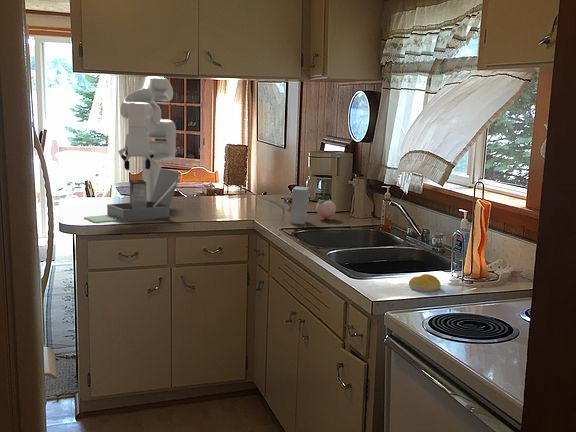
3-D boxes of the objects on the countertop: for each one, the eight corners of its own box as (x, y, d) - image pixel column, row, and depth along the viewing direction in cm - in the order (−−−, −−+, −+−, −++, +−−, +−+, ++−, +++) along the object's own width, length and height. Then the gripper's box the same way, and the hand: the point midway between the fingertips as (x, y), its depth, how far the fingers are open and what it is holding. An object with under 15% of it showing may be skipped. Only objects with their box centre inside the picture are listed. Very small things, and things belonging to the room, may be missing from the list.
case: (107, 215, 288) (106, 170, 285) (162, 210, 305) (162, 168, 301) (124, 222, 273) (123, 175, 270) (181, 216, 290) (181, 172, 286)
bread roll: (403, 287, 186) (404, 274, 186) (423, 283, 192) (424, 270, 191) (425, 294, 180) (425, 281, 179) (445, 290, 185) (446, 276, 185)
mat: (84, 218, 280) (84, 216, 279) (106, 216, 286) (106, 215, 285) (95, 223, 269) (95, 221, 269) (117, 221, 275) (117, 219, 275)
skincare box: (292, 220, 288) (293, 185, 285) (308, 221, 287) (309, 186, 284) (289, 223, 280) (290, 188, 277) (305, 224, 279) (306, 189, 276)
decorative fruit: (324, 221, 287) (324, 199, 285) (312, 218, 294) (313, 197, 292) (339, 220, 292) (340, 198, 291) (328, 217, 299) (329, 196, 297)
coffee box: (129, 214, 291) (129, 179, 288) (144, 214, 293) (143, 179, 290) (132, 218, 283) (131, 182, 280) (147, 217, 285) (146, 182, 282)
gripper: (151, 130, 289) (151, 168, 292) (115, 130, 279) (115, 169, 282) (158, 131, 283) (159, 169, 286) (121, 131, 273) (122, 170, 276)
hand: (137, 169), depth 284 cm, fingers open, 9 cm apart
